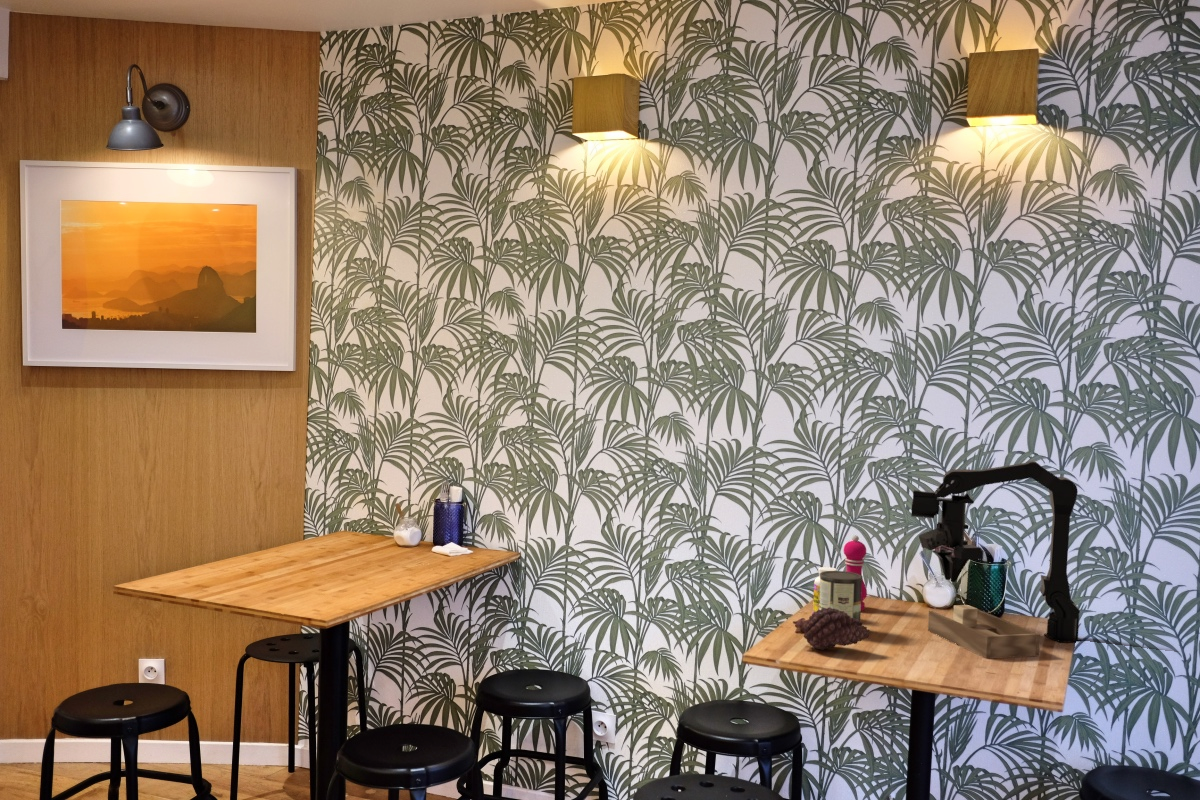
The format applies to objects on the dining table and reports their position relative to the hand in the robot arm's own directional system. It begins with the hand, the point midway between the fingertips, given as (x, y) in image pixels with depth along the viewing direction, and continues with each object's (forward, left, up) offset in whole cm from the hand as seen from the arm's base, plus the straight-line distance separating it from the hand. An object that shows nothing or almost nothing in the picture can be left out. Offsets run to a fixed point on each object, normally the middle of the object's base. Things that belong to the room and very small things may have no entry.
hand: (950, 580), depth 267 cm
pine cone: (+40, +14, -12) cm, 45 cm away
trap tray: (0, +14, -12) cm, 18 cm away
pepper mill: (+15, -22, -12) cm, 29 cm away
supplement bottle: (+27, -14, -12) cm, 33 cm away
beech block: (0, +7, -10) cm, 12 cm away
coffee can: (+30, -1, -12) cm, 32 cm away
